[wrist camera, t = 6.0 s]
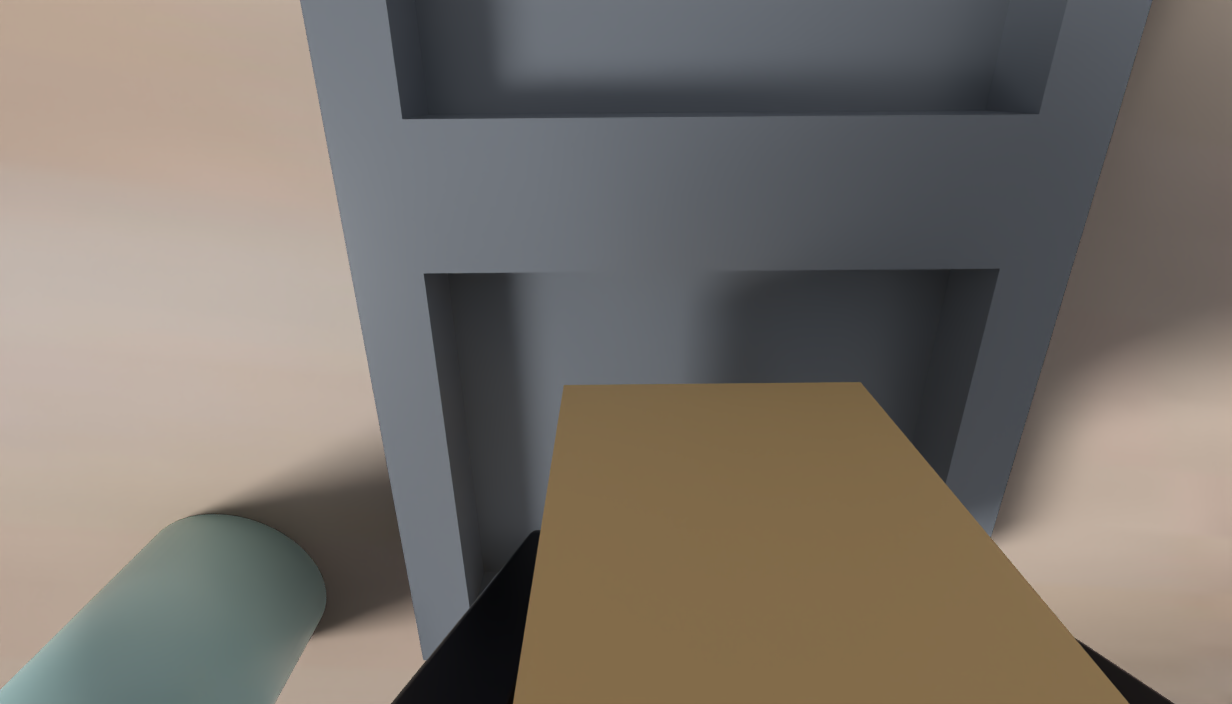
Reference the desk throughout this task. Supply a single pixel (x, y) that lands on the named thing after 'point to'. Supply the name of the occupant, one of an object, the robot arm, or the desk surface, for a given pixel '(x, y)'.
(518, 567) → the robot arm
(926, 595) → the ochre block
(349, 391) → the desk surface
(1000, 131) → the organizer
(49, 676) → the teal capsule
